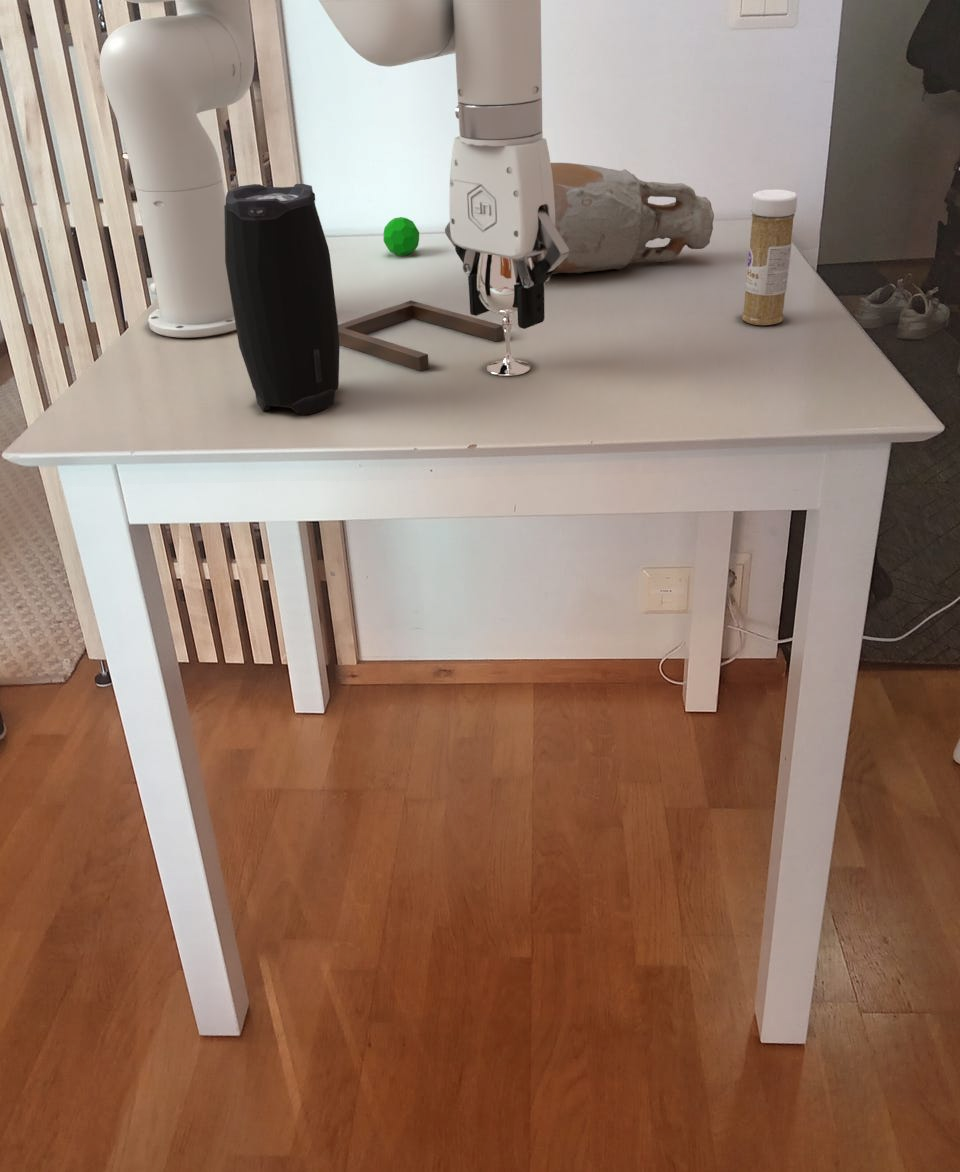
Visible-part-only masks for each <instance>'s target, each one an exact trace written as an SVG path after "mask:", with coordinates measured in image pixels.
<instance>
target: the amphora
mask: <svg viewBox="0 0 960 1172" xmlns="http://www.w3.org/2000/svg"><path fill="white" fill-rule="evenodd" d="M550 163H551V170H552V177H553V188H554V201H555V227H556V229H557V230H558V232H559V234H560V235H561V237H562V238H563V240H564V242H565V243H566V245H567V247H568V248H569V255H568V256H567V257H566V258H565V259H564V260H563V261H562V263H561V264H560V265H558V267H557V269H556V270H555V271H554V272H553V273H552V275H557V274H561V273H562V274H579V275H580V274H583V273H589V272H599V271H600V272H602V271H603V272H604V271H609V270H618V271H620V270H623V269H624V268H626V267H627V266H628V265H629V263H631V262H642V261H643V262H651V263H652V262H653V263H656V262H659V263H660V262H661V263H667V262H668V261H674V260H675V259H676V258H677V257H678V256H679V255H680V253H681V252H682V250H683V249H684V248H685V246H686V247H687V248H688V249H691V250H703V249H705V248H707V246H708V245H709V244H710V243H711V237H712V235H713V230H714V218H715V213H714V211H713V207H712V203H711V201H710V200H709V199H708V198H707V197H706V196H700V195H696V193H695V190H694V189H693V188H692V187H691V186H689V185H687V184H685V183H682V182H677V183H676V182H675V183H670V182H669V183H668V182H661V181H659V182H658V181H657V182H656V181H644V180H641V179H639V178H638V177H637V176H636V175H635V174H634V173H631V172H630V171H629V170H627V169H625V168H623V169H622V170H617V169H614V168H607V167H602V166H597V165H591V164H590V165H589V164H581V163H573V162H572V163H571V162H550ZM650 197H656V198H675V201H674V202H670V203H666V204H656V203H653V202H652V203H651V202H649V198H650ZM656 239H660V240H665V239H669V242H668V243H667V244H666V245H663V246H656V247H655V246H654V247H653V246H651V247H650V246H647V244H648V242H650V241H655V240H656ZM543 252H544V255H546V254H547V250H543ZM532 261H533V260H532ZM533 265H534V264H533Z"/></svg>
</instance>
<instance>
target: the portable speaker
mask: <svg viewBox="0 0 960 1172" xmlns="http://www.w3.org/2000/svg"><path fill="white" fill-rule="evenodd" d="M225 196H226V204H225V205H224V213H225V264H226V270H227V276H228V282H229V288H230V294H231V300H232V306H233V312H234V318H235V324H236V330H235V331H236V336H237V341H238V347H239V350H240V353H241V356H242V360H243V362H244V365H245V368H246V371H247V374H248V377H249V380H250V384H251V387H252V389H253V391H254V394H255V398H256V404H257V405H258V407H259V409H260V410H261V411H262V412H267V411H270V410H271V407H278V408H288V409H292V410H293V411H294V412H295V413H296V414H297V415H302V416H303V415H304V416H308V415H311V414H315V413H318V412H320V411H323V410H325V409H327V408H329V407H331V406H333V404H334V401H335V397H336V393H337V391H338V390H339V387H340V346H341V345H340V344H339V333H338V325H339V322H338V321H339V320H338V314H337V313H338V312H337V303H336V296H335V287H334V278H333V271H332V270H333V269H332V262H331V254H330V250H329V246H328V243H327V239H326V236H325V235H326V234H325V232H324V230H323V226H322V223H321V219H320V216H319V213H318V210H317V207H316V194H315V192H314V190H313V186H312V185H310V184H306V183H295V184H294V185H293V186H283V187H282V186H264V185H262V184H258V183H254V184H246V185H239V186H237V187H234V188H233V189H230V190H228V191H227V192H226V194H225Z"/></svg>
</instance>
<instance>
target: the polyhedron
mask: <svg viewBox="0 0 960 1172" xmlns="http://www.w3.org/2000/svg"><path fill="white" fill-rule="evenodd" d="M419 242H420V231H419V229H418V227H417V226H416V224H415V222H414V221H413V220H411V219H409V218H408V217H403V216H400V217H399V216H398V217H394V218H393V219H391V220H390V221H389V222H388V223H387V224H386V225H385V226H384V229H383V243H384V244H385V247H386V248H387V250H388V251H389V252H390V253H392V254H394V255H396V256H400V257H403V256H409V255H410V254H412V253H413V252H414V251H415V250H416V249H417V248H418V247H419Z"/></svg>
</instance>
